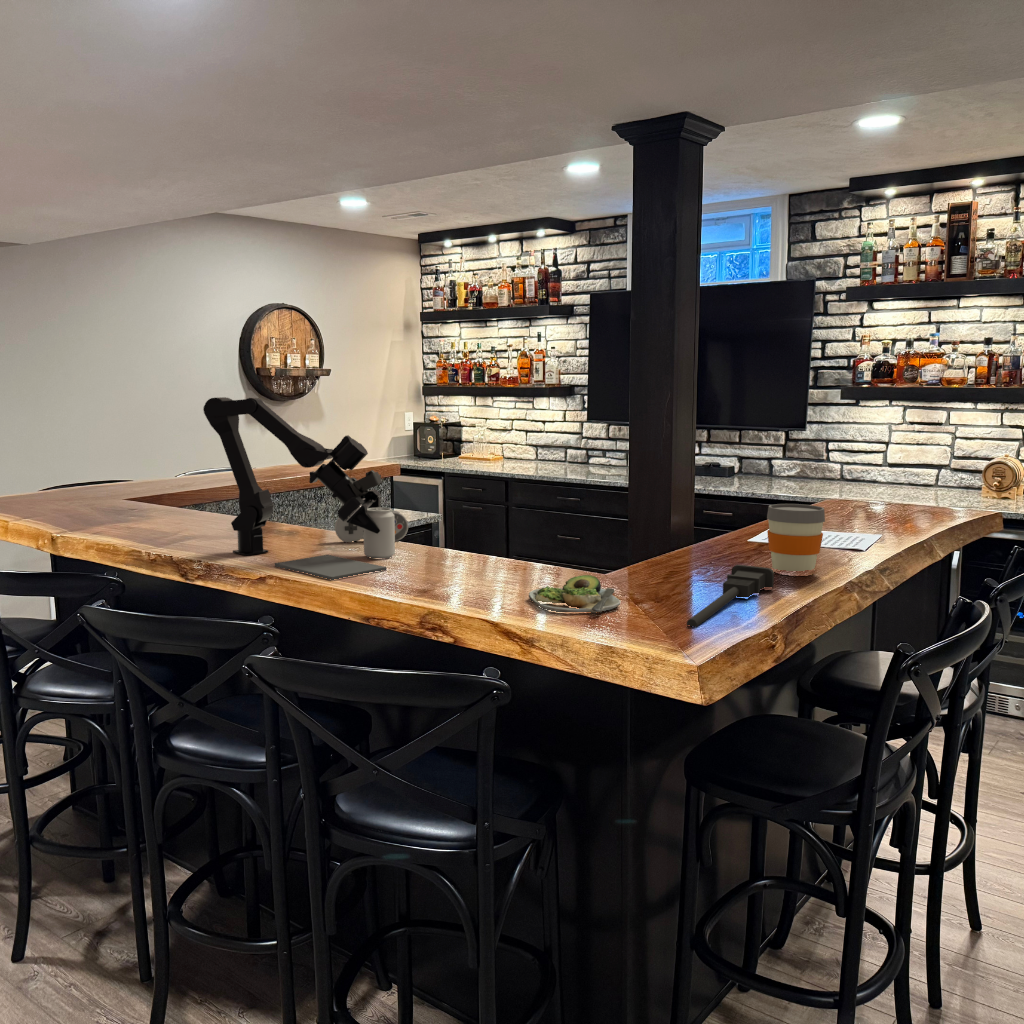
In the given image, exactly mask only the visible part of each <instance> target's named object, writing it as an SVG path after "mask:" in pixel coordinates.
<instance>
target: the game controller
mask: <svg viewBox="0 0 1024 1024" xmlns="http://www.w3.org/2000/svg"><path fill="white" fill-rule="evenodd" d="M391 512H392V513H393V514H394V518H395V542H398V541H400V540H402V539H403V538H404V537H405V536H406V535H407V533H408V530H409V522H408V520H407V518H406V517H405V516H404V515H403V514H402V513H401V512H400V511H398V510H391ZM349 518H350V517H349V516H348V519H349ZM348 519H347V520H348ZM347 520H346V521H344V522H343V521H342V520H341V519H340V518H339V517H338V518H337V519H336V520H335V525H334V530H335V534H336V536H337V537H338V539H339V540H340V541H342V542H344V543H347V542H352V541H357V542H358V541H360V540H364V528H362V527H359V526H356V525H354V524H351V523H347Z"/></svg>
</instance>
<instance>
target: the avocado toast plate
mask: <svg viewBox="0 0 1024 1024" xmlns="http://www.w3.org/2000/svg"><path fill="white" fill-rule="evenodd" d="M614 593H615V588H609V587H607V588H602V584H601V581H600V579H599V578H598V577H596V576H594V575H589V574H585V575H584V574H583V575H577V576H573V577H571V578H569V579H568V580H566V581H565V584H564V585H563V586H562V588H561V587H553V586H552V587H549V586H548V585H546V586H545V587H542V588H536V589H533V590H531V591H529V592H528V600H529V601H530V600H531V601H533V602H534V603H535V604H534V603H533V602H532V603H533V604H534V605H536V606H537V605H538V606H540V607H541V608H540V607H539V608H540V609H542V608H543V609H542V610H544V609H547V610H551V611H556V612H591V613H594V614H597V613H596V612H600V613H603V612H602V611H604V612H607V611H606V610H608V611H610V610H612V609H615V608H618V607H619V606H620V605H621V600H620V599H619V598H617V597H616V596H615V595H613V594H614ZM531 601H530V602H531ZM538 601H542V602H552V603H566V604H567V605H568V606H571V607H577V608H579V609H576V608H568V607H559V606H554V605H545V604H540V603H539V602H538ZM538 606H537V607H538Z"/></svg>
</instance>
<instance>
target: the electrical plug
mask: <svg viewBox="0 0 1024 1024" xmlns="http://www.w3.org/2000/svg"><path fill="white" fill-rule="evenodd" d="M730 573H731V574H726V575H727V576H726V580H725V581H724V582H723V583H722V595H720V596H719V597H718V598H715V600H713V601H712V602H711V603H709V604H708V605H707V606H705V607H704V608H703V609H702V610H700V611H699V612H697V613H696V614H695V615H693V616H692V617H690V618H688V620H687V622H686V626H687V625H690V626H694V627H696V628H697V627H699V626H700V625H702V624H703V623H704V622H705V621H706V620H707V619H709V618H710V617H712V616H713V615H714V614H715V613H717V612H718V611H720V610H721V609H722V608H724V606H726V605H727V604H728V603H730V601H732V600H733V599H734V600H735V599H736V598H735V597H736V596H737V597H749V596H750V595H752V594H753V593H759V592H760V593H761V591H760V589H762V588H764V587H773V588H774V584H775V583H774V582H775V577H774V576H775V573H774V572H773V570H772V568H769V567H764V566H763V567H762V566H754V565H745V564H735V565H734V566H732V568H731V572H730ZM702 622H703V623H702ZM698 625H699V626H698ZM694 627H693V628H694Z"/></svg>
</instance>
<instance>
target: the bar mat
mask: <svg viewBox="0 0 1024 1024" xmlns="http://www.w3.org/2000/svg"><path fill="white" fill-rule="evenodd" d="M273 565H274V566H275V567H276V568H278V567H280V568H279V569H282V568H285V569H284V570H286V569H290V570H294V571H299V572H304V573H308V574H312V575H315V576H319V577H323V578H327V579H331V580H334V579H339V578H343V577H348V576H353V575H358V574H363V573H369V572H375V571H381V570H386V571H387V566H382V565H379V564H373V563H369V562H364V561H359V560H356V559H351V558H345V557H341V556H336V555H332V554H325V555H324V554H323V555H322V554H321V555H317V556H311V557H310V556H309V557H305V558H299V559H292V560H287V561H286V560H285V561H280V562H274V564H273ZM275 567H274V568H275ZM290 570H289V571H290ZM294 571H293V572H294ZM299 572H298V573H299ZM381 572H382V571H381ZM315 576H314V577H315ZM319 577H318V578H319ZM323 578H322V579H323ZM327 579H326V580H327ZM331 580H330V581H331ZM339 580H340V579H339ZM334 581H335V580H334Z"/></svg>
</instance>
